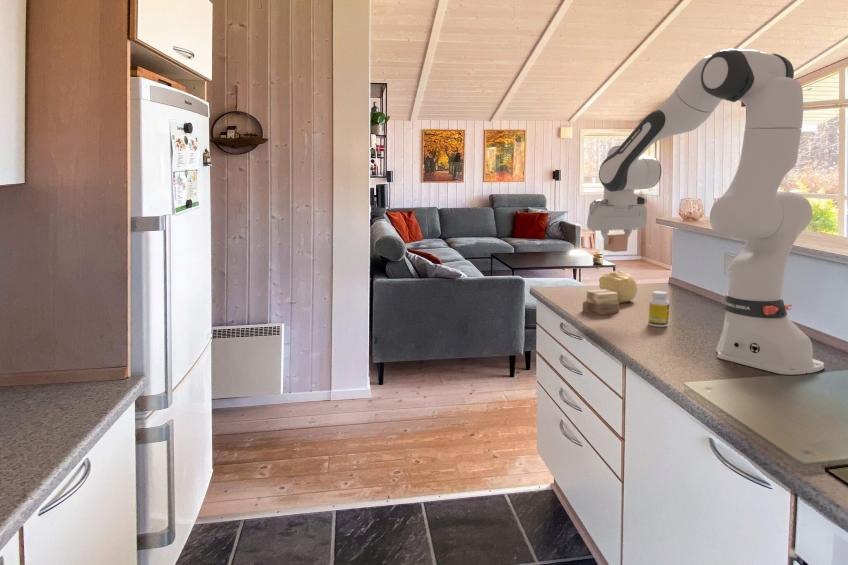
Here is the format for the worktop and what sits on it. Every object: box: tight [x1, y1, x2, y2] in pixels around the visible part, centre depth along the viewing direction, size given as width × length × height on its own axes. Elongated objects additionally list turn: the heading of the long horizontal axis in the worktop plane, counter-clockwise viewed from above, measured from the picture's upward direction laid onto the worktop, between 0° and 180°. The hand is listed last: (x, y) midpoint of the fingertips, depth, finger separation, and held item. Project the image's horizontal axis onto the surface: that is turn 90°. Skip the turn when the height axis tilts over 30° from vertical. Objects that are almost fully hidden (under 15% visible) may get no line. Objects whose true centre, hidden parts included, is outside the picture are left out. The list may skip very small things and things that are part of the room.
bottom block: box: [582, 301, 620, 316], centre depth 185 cm, size 8×8×4 cm
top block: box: [586, 289, 618, 306], centre depth 184 cm, size 7×7×4 cm
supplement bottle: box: [647, 290, 670, 328], centre depth 166 cm, size 5×5×10 cm
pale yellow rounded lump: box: [598, 270, 638, 304], centre depth 200 cm, size 11×12×11 cm
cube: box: [603, 232, 629, 253], centre depth 179 cm, size 5×5×5 cm
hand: (615, 243), depth 179 cm, fingers closed on cube, 5 cm apart
